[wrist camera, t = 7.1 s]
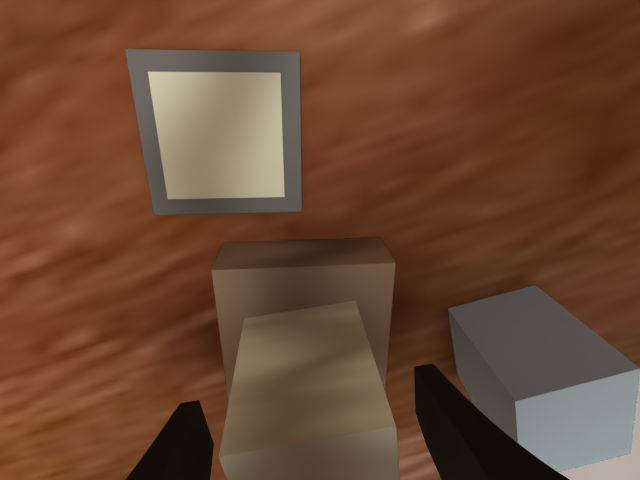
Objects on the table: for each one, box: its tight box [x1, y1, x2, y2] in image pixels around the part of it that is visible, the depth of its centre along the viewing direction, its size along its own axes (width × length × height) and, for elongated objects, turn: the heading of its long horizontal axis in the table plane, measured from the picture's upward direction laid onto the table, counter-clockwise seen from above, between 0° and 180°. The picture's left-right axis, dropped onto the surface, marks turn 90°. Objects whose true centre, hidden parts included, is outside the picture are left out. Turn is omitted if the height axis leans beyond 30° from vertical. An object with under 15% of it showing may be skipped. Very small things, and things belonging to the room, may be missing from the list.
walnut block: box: [212, 237, 396, 403], centre depth 17 cm, size 7×7×3 cm
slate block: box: [448, 285, 640, 472], centre depth 17 cm, size 4×4×6 cm
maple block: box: [219, 300, 400, 480], centre depth 13 cm, size 4×4×6 cm
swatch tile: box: [125, 49, 302, 215], centre depth 14 cm, size 6×6×1 cm
